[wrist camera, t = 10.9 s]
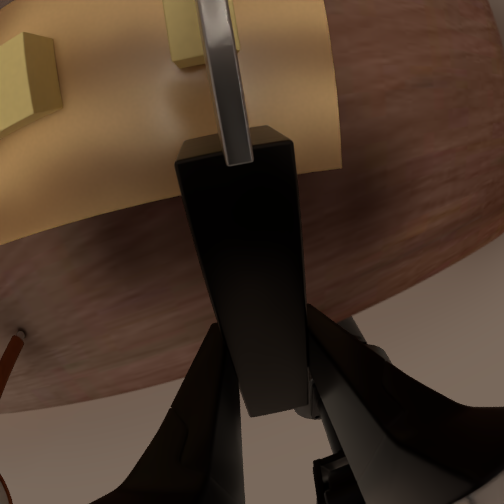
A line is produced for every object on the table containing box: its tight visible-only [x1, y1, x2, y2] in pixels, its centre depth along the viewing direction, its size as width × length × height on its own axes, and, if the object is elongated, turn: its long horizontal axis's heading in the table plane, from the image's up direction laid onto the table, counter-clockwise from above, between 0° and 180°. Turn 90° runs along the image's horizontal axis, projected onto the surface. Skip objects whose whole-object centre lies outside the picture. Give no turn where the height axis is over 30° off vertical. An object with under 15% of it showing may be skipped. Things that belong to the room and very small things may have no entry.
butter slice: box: [162, 0, 241, 69], centre depth 9 cm, size 4×2×3 cm, turn 8°
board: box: [0, 0, 342, 245], centre depth 11 cm, size 14×22×1 cm, turn 98°
